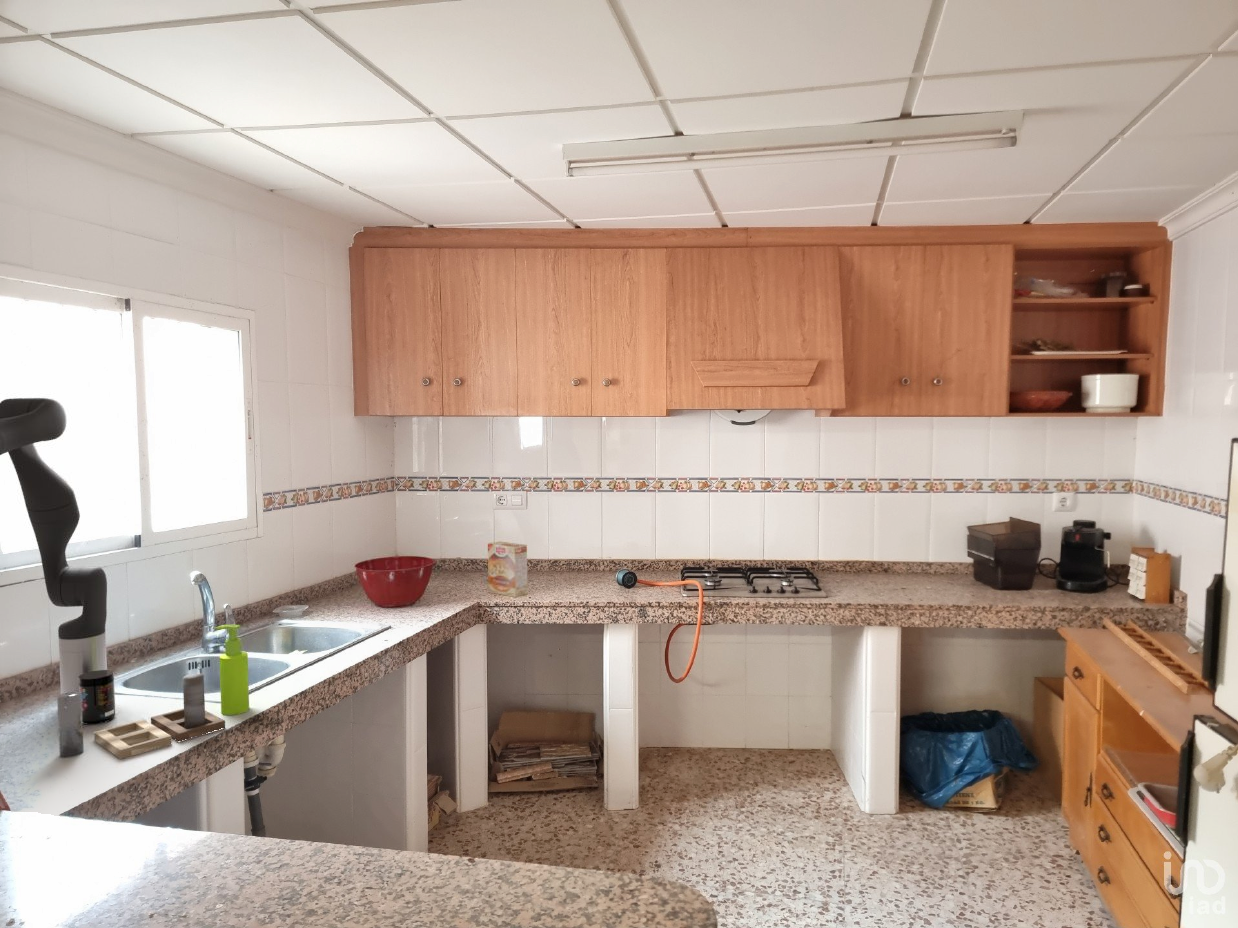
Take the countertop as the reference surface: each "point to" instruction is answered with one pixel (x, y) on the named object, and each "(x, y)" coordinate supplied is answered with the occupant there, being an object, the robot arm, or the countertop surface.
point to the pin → (70, 724)
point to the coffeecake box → (507, 568)
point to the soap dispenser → (233, 675)
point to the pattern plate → (189, 713)
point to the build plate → (132, 738)
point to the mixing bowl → (395, 579)
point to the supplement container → (97, 696)
